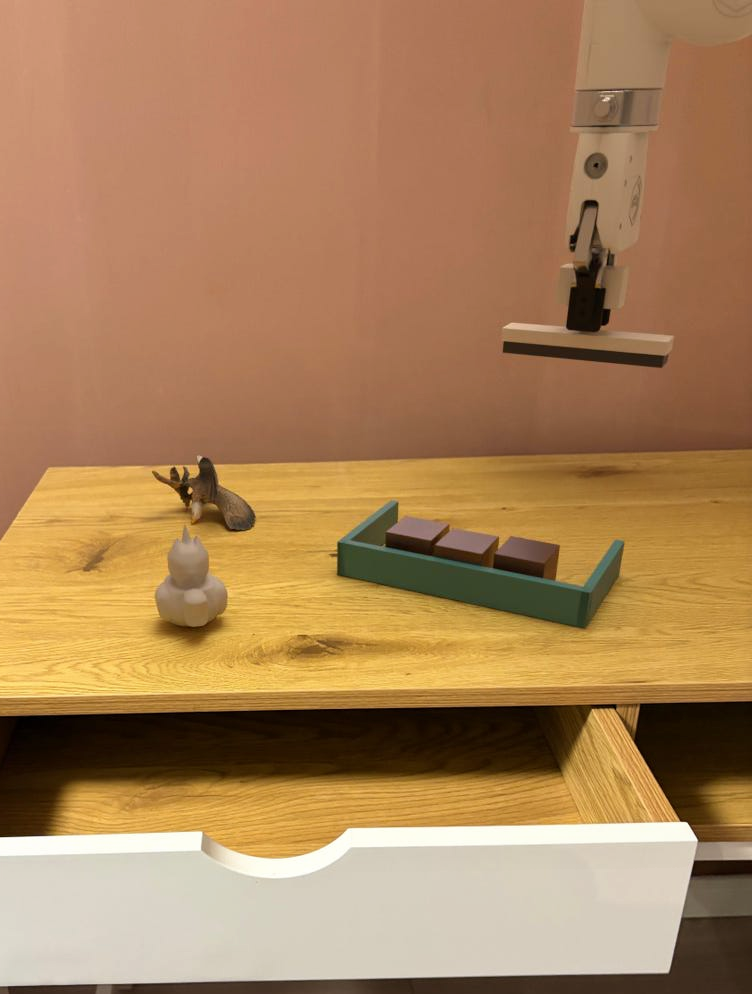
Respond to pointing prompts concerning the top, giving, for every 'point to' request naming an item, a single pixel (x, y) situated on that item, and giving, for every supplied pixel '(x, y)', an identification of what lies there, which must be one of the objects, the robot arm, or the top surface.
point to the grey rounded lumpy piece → (190, 586)
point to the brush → (589, 344)
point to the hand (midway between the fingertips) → (587, 325)
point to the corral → (472, 576)
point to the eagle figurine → (209, 495)
